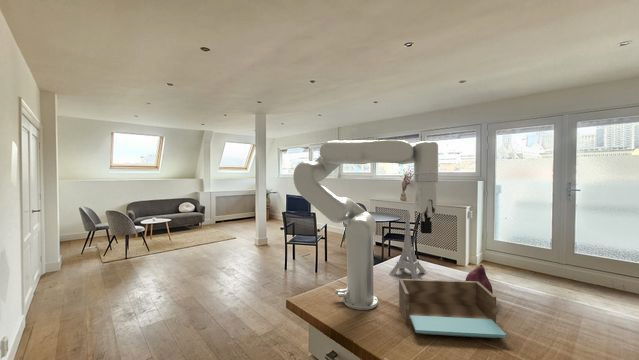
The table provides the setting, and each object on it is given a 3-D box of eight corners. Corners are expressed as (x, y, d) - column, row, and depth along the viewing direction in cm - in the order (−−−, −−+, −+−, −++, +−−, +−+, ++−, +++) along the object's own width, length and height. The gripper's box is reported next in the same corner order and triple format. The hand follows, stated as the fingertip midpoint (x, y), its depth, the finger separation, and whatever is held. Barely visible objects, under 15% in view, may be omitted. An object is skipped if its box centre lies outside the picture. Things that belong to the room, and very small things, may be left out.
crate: (405, 323, 86) (405, 293, 85) (399, 305, 97) (399, 278, 97) (496, 328, 82) (496, 297, 82) (478, 308, 94) (478, 281, 94)
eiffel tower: (426, 272, 129) (426, 209, 129) (417, 281, 119) (417, 213, 118) (399, 267, 137) (399, 207, 137) (388, 275, 127) (388, 210, 126)
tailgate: (409, 319, 85) (415, 334, 77) (409, 315, 85) (415, 329, 77) (491, 323, 83) (506, 340, 75) (491, 319, 82) (506, 334, 75)
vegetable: (496, 313, 98) (507, 277, 93) (465, 306, 100) (474, 271, 95) (486, 293, 107) (495, 260, 103) (458, 288, 109) (466, 255, 105)
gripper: (409, 178, 99) (409, 228, 100) (419, 179, 85) (419, 237, 85) (431, 178, 98) (431, 228, 99) (445, 178, 84) (445, 238, 84)
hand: (426, 232), depth 92 cm, fingers closed
